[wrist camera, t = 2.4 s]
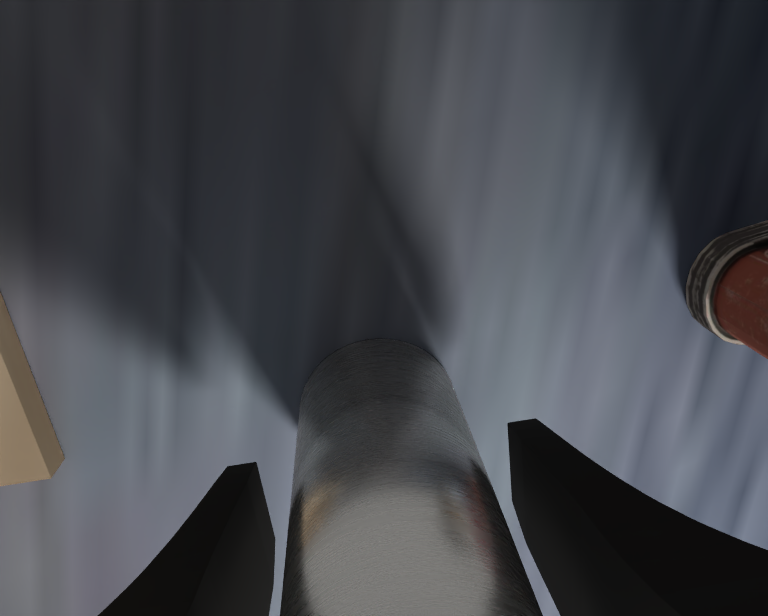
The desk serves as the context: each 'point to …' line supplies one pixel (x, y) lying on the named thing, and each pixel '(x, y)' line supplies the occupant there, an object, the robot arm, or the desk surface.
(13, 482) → the dock socket
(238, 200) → the desk surface
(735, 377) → the desk surface
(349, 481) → the spigot peg
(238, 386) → the desk surface
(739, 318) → the hip flask
